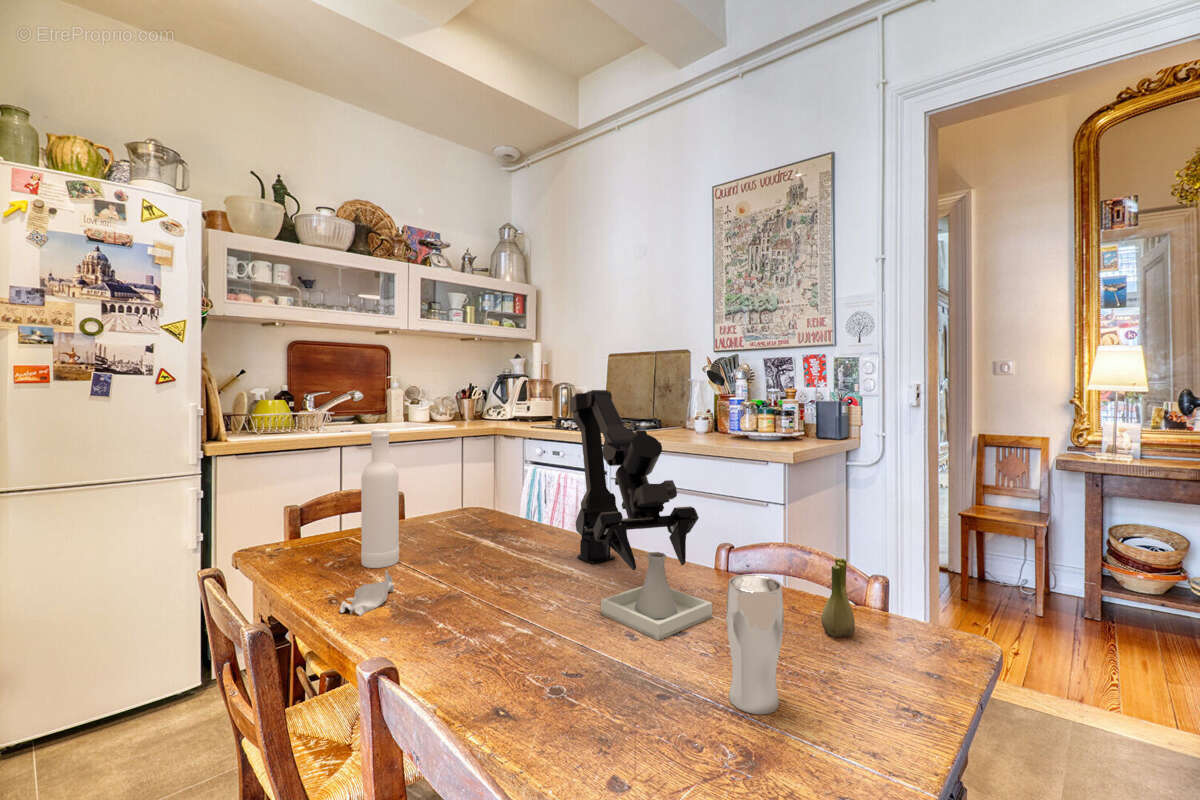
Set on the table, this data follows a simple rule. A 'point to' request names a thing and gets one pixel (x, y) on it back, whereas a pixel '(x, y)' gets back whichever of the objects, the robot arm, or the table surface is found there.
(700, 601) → the tray
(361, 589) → the wrapped candy
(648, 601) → the flask
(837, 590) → the fennel bulb
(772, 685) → the beer glass
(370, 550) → the bottle
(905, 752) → the table surface
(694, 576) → the table surface
